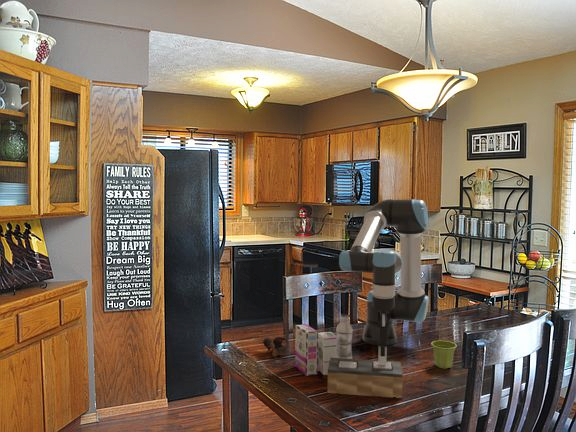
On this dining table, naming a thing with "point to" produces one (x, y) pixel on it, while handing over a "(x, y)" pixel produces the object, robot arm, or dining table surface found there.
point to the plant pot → (443, 353)
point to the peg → (382, 366)
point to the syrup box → (326, 350)
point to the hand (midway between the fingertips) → (382, 364)
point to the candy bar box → (306, 349)
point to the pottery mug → (276, 345)
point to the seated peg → (347, 364)
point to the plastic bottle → (344, 337)
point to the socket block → (364, 379)
